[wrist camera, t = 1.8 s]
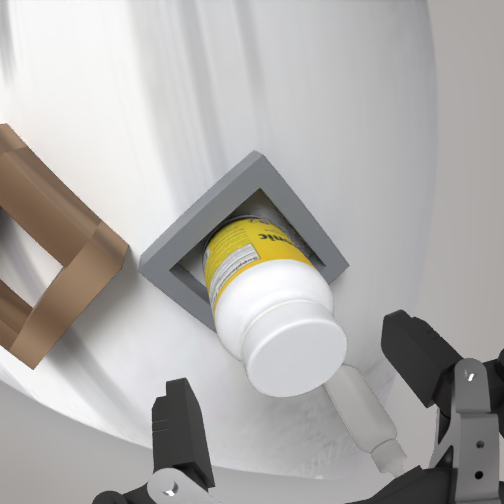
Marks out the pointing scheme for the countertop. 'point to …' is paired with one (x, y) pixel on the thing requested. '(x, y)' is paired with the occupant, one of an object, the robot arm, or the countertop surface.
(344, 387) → the eye dropper bottle
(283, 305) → the supplement bottle
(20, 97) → the countertop surface
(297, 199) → the holder
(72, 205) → the socket block
